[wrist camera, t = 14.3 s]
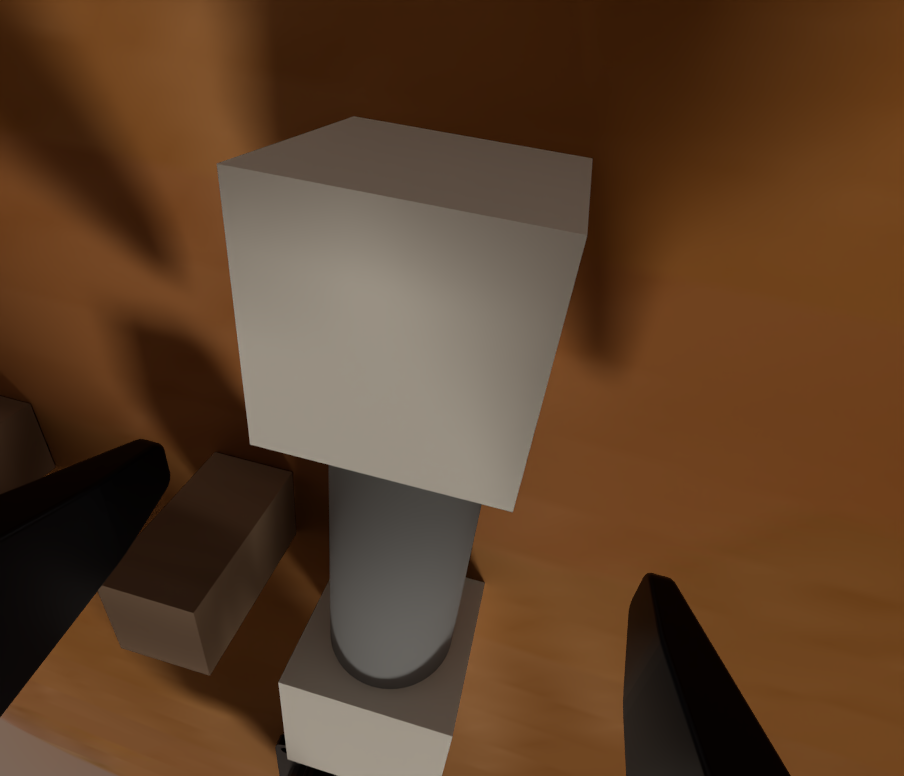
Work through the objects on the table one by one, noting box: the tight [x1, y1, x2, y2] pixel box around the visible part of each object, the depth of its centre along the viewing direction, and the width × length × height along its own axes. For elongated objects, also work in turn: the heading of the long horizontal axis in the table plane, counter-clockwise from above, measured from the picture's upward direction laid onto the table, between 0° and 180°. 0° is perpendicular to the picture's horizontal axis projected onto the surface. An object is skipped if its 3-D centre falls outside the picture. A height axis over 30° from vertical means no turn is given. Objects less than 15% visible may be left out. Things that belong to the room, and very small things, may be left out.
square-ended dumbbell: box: [217, 116, 593, 776], centre depth 12 cm, size 15×4×4 cm, turn 173°
